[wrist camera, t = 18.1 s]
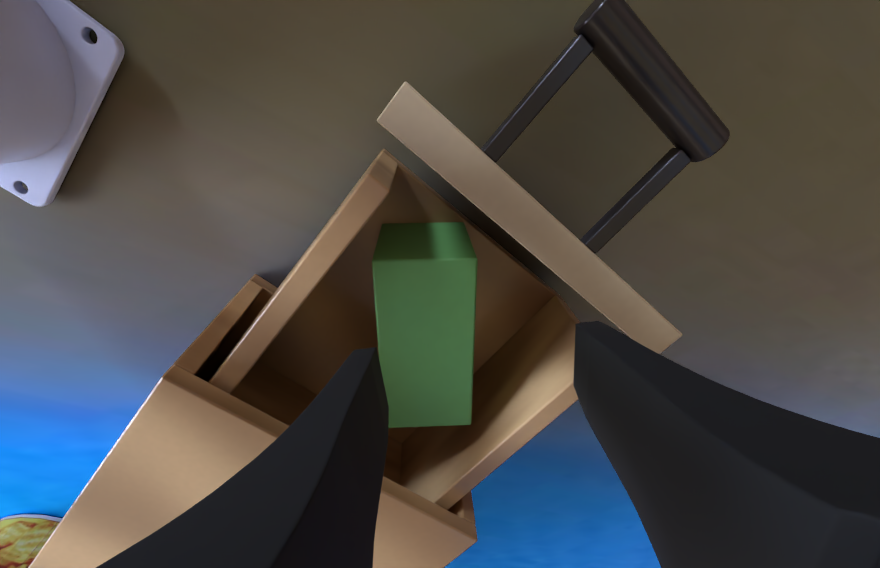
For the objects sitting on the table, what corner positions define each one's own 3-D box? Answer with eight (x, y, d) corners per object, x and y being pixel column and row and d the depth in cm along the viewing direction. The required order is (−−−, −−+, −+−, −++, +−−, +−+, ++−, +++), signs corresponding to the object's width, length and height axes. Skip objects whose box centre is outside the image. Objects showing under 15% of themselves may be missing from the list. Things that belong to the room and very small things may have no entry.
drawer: (513, -56, 14) (577, -156, 8) (707, 169, 18) (842, 203, 12) (223, 338, 20) (147, 434, 14) (413, 447, 23) (411, 559, 18)
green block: (381, 222, 17) (370, 260, 13) (464, 221, 17) (478, 258, 13) (390, 364, 20) (384, 429, 16) (461, 362, 20) (471, 425, 16)
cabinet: (255, 273, 19) (161, 376, 12) (459, 404, 23) (478, 541, 16) (118, 462, 24) (-9, 620, 17) (309, 546, 28) (272, 703, 21)
